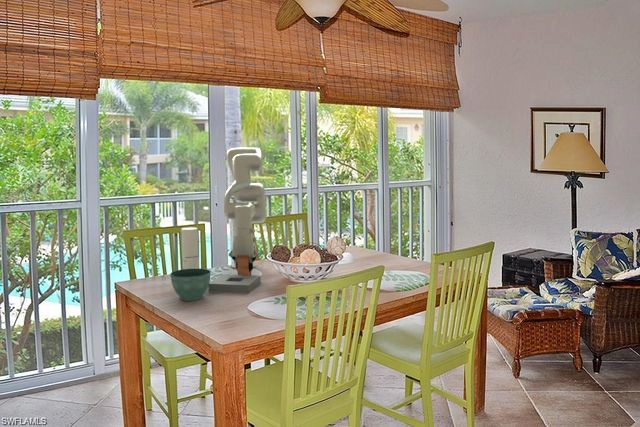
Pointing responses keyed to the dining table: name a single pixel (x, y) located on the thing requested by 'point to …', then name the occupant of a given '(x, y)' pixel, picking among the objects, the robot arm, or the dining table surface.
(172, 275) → the green bowl
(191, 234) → the cylindrical container
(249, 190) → the robot arm
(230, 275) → the socket block
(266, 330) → the dining table surface
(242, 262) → the peg
